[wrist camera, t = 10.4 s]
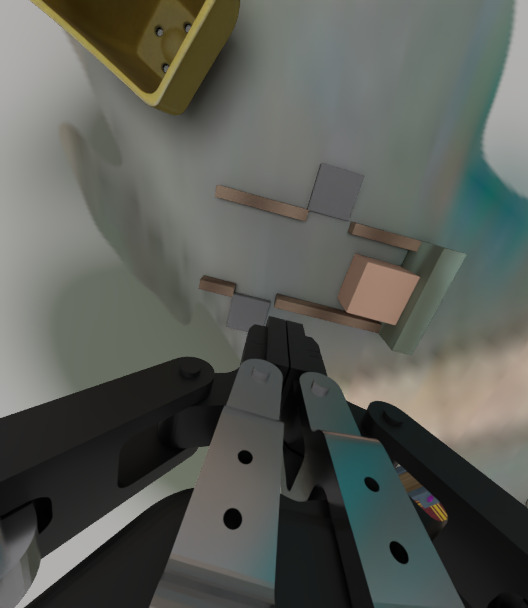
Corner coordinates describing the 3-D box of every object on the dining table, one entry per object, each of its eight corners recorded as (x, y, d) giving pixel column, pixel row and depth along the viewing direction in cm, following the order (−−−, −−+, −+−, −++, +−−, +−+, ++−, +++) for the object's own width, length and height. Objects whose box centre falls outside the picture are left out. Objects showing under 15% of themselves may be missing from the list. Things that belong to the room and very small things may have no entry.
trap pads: (373, 185, 25) (375, 184, 24) (254, 341, 31) (254, 343, 31) (329, 149, 24) (331, 148, 23) (216, 318, 30) (215, 320, 30)
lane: (432, 244, 27) (466, 254, 22) (390, 331, 30) (411, 355, 26) (219, 185, 25) (208, 182, 20) (202, 284, 29) (188, 301, 24)
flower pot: (256, 41, 21) (247, -60, 13) (194, 140, 24) (152, 109, 15) (161, -59, 19) (76, -256, 11) (105, 60, 22) (2, -23, 13)
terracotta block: (400, 266, 28) (420, 276, 24) (379, 309, 29) (395, 325, 26) (354, 253, 27) (367, 262, 24) (336, 297, 29) (346, 312, 25)
